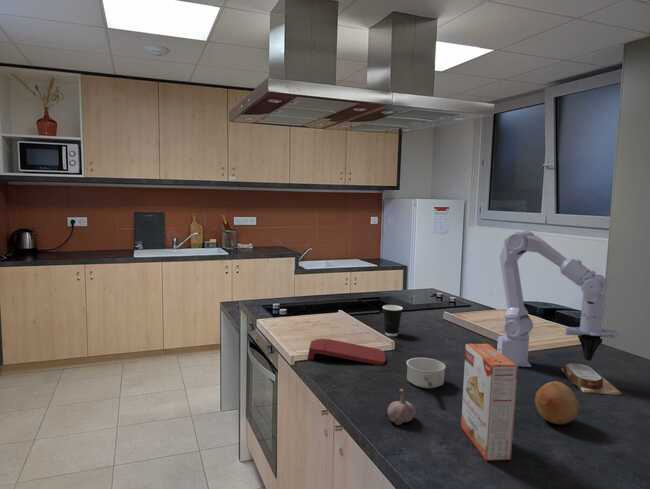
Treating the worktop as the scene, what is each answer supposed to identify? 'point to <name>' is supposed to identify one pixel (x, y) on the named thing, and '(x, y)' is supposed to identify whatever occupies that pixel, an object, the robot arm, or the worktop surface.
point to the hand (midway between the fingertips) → (587, 359)
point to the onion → (557, 403)
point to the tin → (583, 376)
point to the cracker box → (489, 401)
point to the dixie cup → (392, 319)
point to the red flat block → (346, 351)
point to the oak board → (605, 389)
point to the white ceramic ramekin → (425, 372)
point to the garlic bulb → (401, 410)
